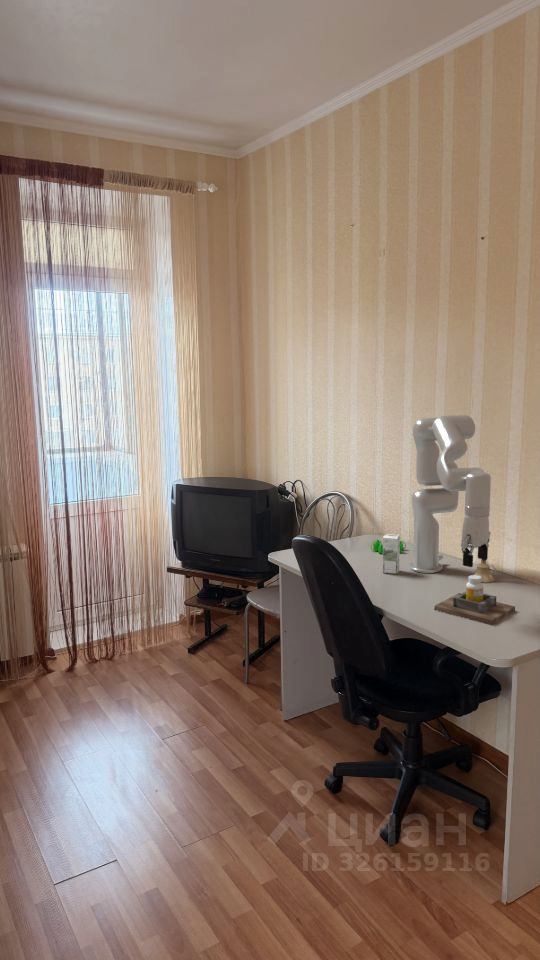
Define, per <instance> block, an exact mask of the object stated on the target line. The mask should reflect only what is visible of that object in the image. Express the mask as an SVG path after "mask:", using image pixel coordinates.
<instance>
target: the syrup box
mask: <svg viewBox="0 0 540 960" xmlns="http://www.w3.org/2000/svg"><path fill="white" fill-rule="evenodd" d="M400 536H401V535H400V534H392V533H391V534H390V533H385V534H384V535H383V537H382V544H383V553H382V574H387V573H388V574H390V575H398V574H399V572H400V553H401V552H400V541H401V540H400V538H401V537H400ZM399 552H400V553H399Z"/></svg>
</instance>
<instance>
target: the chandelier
mask: <svg viewBox="0 0 540 960" xmlns="http://www.w3.org/2000/svg"><path fill="white" fill-rule="evenodd" d="M406 545H407V544H406V543H405V541H401V540H400V552H399V554H402V553H404V550H406V547H407V546H406ZM372 546H373V547H372ZM372 548H373V549H372ZM370 549H371V551H372V552H374V551H375V552H378V554H379V555H381V554H383V542H382V541H381V540H380V539H375V540H373V542H372V543H371V544H370Z"/></svg>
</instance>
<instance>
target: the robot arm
mask: <svg viewBox="0 0 540 960" xmlns="http://www.w3.org/2000/svg"><path fill="white" fill-rule="evenodd" d="M475 433H476V424H475V421H474V420H473V418H472V417H471V416H470V415H466V414H458V415H442V416H439V417H425V418H420V419H417V420H416V421H415V422H414V423H413V426H412V436H413V442H414V444H415V448H416V467H415V468H416V469H415V470H416V482H417V483H418V484H419V485H421V486H424V487H428V486H429V487H431V488H422V489H417V490H415V491H414V492H413V493H412V496H411V505H412V512H413V562H412V563H409V569H410V570H411V571H413V572H416V573H421V574H433V573H434V574H435V573H439V572H441V571H443V564H441V563H440V561H441V560H443V559H444V555H443V554H439V553H440V551H439V549H440V548H439V547H440V525H439V522H438V520H437V519H436V518H435V516H434V514H444V513H445V514H447V513H448V514H449V513H453V512H455V511H456V510H457V509H458V505H459V492H465V495H464V496H465V499H464V517H463V518H464V519H463V521H462V522H463V523H462V529H461V542H460V547H461V551H462V566H464V567H467V568H468V567H469V568H472V567H474V555H473V552H474V550H475V549H476V548H477V558H478V559H480V560H481V559H484V560H486V561H487V560H488V555H489V553H488V552H489V546H490V544H489V542H490V538H491V531H490V520H489V519H490V511H491V509H490V507H491V506H490V505H491V483H492V479H491V477H492V476H491V474H490V473H488V472H485V471H484V469H482V468H481V467H458V465H457V463H456V461H457V460H460V459H461V458H462V457H463V456H465V454H466V453H467V450H468V444H467V442H466V440H469V439H472V438H473V437H474V435H475ZM437 443H438V444H437ZM440 450H441V452H440ZM432 486H435V487H436V486H442V487H440V488H439V487H438V488H435V487H434V488H432Z"/></svg>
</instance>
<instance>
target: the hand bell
mask: <svg viewBox="0 0 540 960" xmlns="http://www.w3.org/2000/svg"><path fill="white" fill-rule="evenodd" d="M473 575H478V576H481V582H480V583H482V584H484V583H488V584H489V583H493V582H495V581H496V579H495V577H494V576H493V575H492V572H491V566H490V565H489V564H488V563H487V560H484V559H480V563H479V564H477V565H476V569H475V573H474V574H473Z"/></svg>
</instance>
